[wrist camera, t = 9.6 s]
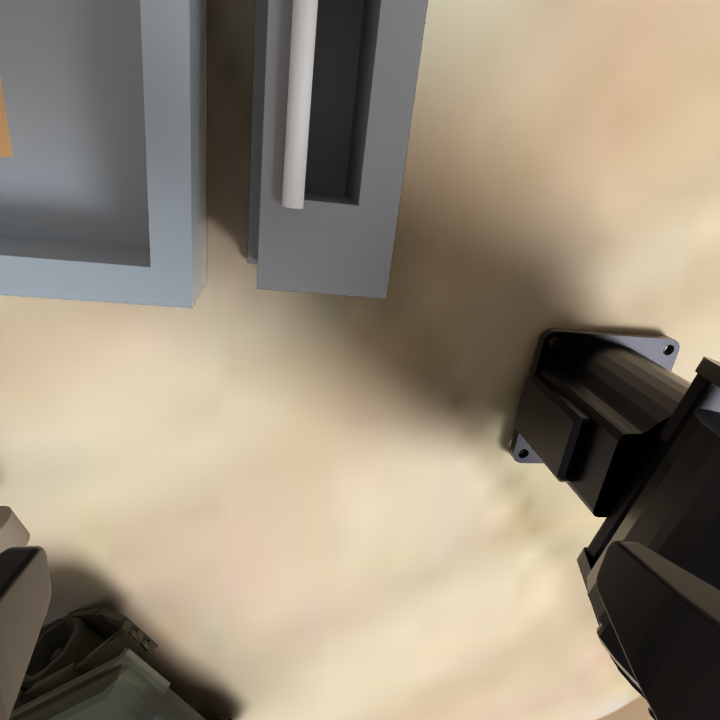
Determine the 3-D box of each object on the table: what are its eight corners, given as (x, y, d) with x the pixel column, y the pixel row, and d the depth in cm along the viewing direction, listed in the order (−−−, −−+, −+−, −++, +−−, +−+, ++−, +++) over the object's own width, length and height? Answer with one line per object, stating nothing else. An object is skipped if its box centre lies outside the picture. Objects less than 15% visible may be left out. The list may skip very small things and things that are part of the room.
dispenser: (431, -124, 15) (489, -227, 11) (379, 271, 20) (405, 305, 15) (262, -163, 14) (253, -292, 10) (248, 259, 19) (237, 292, 14)
